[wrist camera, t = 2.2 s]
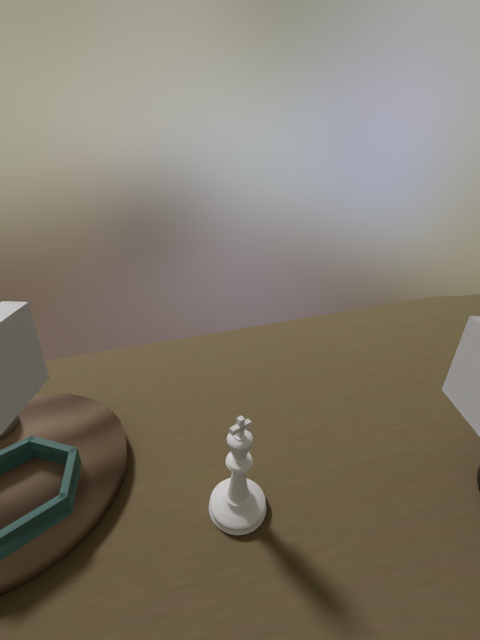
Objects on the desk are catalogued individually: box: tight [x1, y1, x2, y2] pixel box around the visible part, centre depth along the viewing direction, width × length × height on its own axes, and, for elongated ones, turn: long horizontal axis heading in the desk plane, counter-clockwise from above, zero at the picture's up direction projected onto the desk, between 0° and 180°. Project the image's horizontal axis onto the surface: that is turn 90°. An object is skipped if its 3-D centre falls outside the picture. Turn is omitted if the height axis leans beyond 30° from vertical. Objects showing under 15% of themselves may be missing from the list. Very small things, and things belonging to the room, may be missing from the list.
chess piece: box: [209, 415, 267, 535], centre depth 27 cm, size 5×5×10 cm
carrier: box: [0, 394, 128, 595], centre depth 30 cm, size 20×20×4 cm
